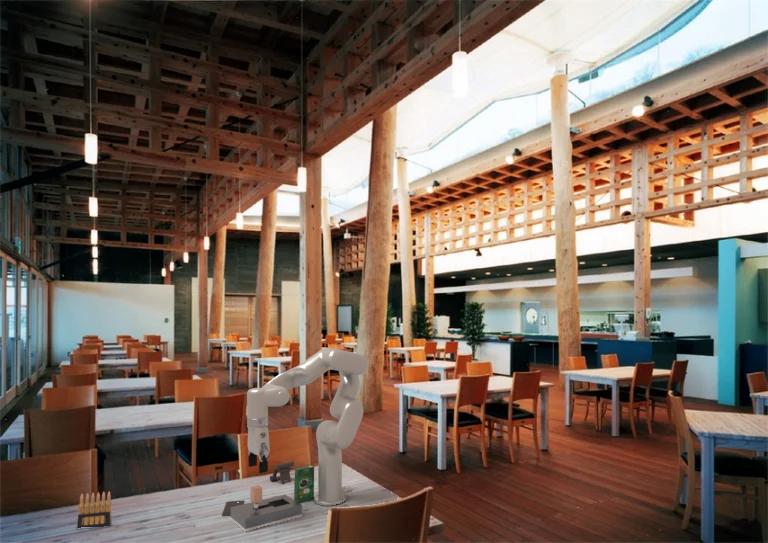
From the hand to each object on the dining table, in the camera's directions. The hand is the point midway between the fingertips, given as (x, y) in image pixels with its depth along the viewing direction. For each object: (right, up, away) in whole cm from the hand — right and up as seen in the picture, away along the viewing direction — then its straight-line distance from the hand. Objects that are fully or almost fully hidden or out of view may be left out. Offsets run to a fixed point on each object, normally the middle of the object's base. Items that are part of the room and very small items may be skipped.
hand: (258, 469), depth 191 cm
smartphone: (-12, -20, +11) cm, 26 cm away
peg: (0, -17, -2) cm, 17 cm away
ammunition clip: (-57, -19, -6) cm, 60 cm away
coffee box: (+14, -20, +19) cm, 31 cm away
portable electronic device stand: (+1, -22, +44) cm, 49 cm away
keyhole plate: (+3, -18, +1) cm, 19 cm away
